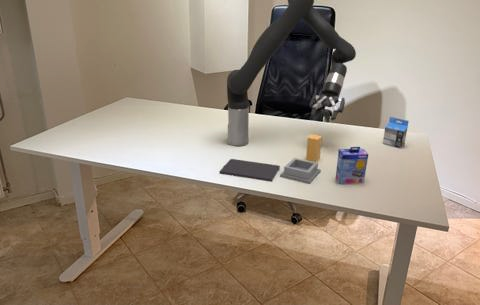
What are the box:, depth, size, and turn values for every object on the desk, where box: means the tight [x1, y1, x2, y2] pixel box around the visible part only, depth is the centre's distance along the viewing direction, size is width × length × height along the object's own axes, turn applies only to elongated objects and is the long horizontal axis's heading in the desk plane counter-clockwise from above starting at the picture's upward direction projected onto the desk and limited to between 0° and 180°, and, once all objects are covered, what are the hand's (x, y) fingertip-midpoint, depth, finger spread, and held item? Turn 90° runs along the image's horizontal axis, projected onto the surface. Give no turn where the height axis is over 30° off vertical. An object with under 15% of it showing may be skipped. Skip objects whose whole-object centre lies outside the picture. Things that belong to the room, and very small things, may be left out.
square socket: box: [279, 157, 322, 185], centre depth 153 cm, size 12×12×4 cm
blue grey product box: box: [382, 116, 409, 149], centre depth 179 cm, size 9×4×12 cm, turn 47°
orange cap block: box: [305, 133, 323, 163], centre depth 165 cm, size 4×4×10 cm
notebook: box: [219, 158, 281, 183], centre depth 156 cm, size 13×2×21 cm
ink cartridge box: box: [335, 146, 369, 185], centre depth 146 cm, size 10×6×14 cm, turn 95°
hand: (322, 118), depth 167 cm, fingers open, 8 cm apart
